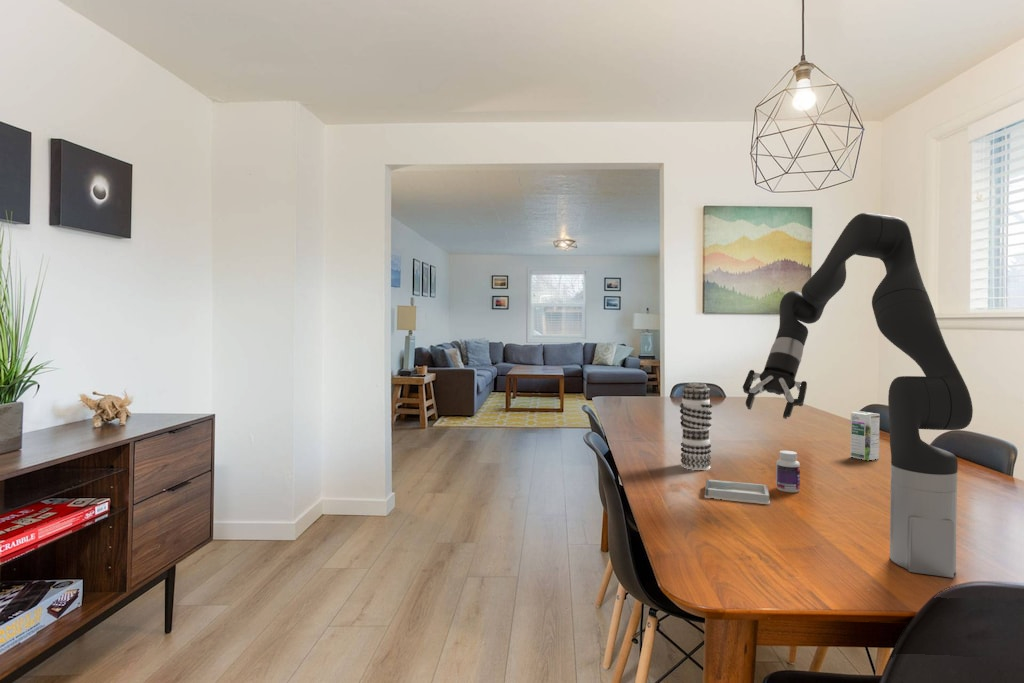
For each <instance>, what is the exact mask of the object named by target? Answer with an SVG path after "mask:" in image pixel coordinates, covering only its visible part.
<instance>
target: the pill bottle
mask: <svg viewBox="0 0 1024 683" xmlns="http://www.w3.org/2000/svg"><path fill="white" fill-rule="evenodd" d="M797 459H798V453H797V452H796V451H792V450H779V459H777V460H776V462H775V465H776V468H775V470H776V474H775V479H776V480H775V482H776V483H775V485H776V490H779V491H780V492H784V493H798V492H800V490H801V465H800V464H801V463H800V462H799V461H798V460H797Z"/></svg>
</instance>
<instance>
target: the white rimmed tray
mask: <svg viewBox="0 0 1024 683" xmlns="http://www.w3.org/2000/svg"><path fill="white" fill-rule="evenodd" d="M704 498H705V499H710V498H714V499H713V500H720V499H722V500H723V501H730V502H731V501H732V502H741V503H750V504H757V505H758V504H760V505H762V504H763V505H768V506H770V505H771V501H770V492H769V489H768V485H767V484H761V483H751V482H750V483H749V482H739V481H729V480H720V479H719V480H716V479H709V478H708V479H707V478H706V480H705V488H704ZM722 500H721V501H722Z"/></svg>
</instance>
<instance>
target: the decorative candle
mask: <svg viewBox="0 0 1024 683" xmlns="http://www.w3.org/2000/svg"><path fill="white" fill-rule="evenodd" d="M681 390H682V397H681V403H680V404H679V407H680V410H679V412H680V414H681V415H680V420H681V421H680V423H679V424H680V428H681V429H682V436H681V443H680V445H681V448H680V451H681V453H680V458H681V459H680V462H681V464H680V467H681V466H682V467H684V468H687V469H686V470H688V469H692V470H691V471H694V470H706V471H709V470H711V469H710V468H711V464H712V462H711V459H712V456H711V454H710V453H711V452H712V451H711V449H710V448H711V447H712V444H710V443H711V438H710V430H712V428H711V426H712V424H711V423H710V422H709V421H711V420H712V419H713V417H712V416H711V415H712V411H711V410H710V409H711V408H712V407H713V404H711V402H710V401H711V400H710V390H711V388H709V387H708V386H707V384H706V383H703V382H687V383H686V384H684V386H683V387H682V388H681ZM682 467H681V468H682ZM684 468H683V469H684Z"/></svg>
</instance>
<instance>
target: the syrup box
mask: <svg viewBox="0 0 1024 683" xmlns="http://www.w3.org/2000/svg"><path fill="white" fill-rule="evenodd" d="M880 420H881V419H880V413H875V412H874V413H873V412H868V411H862V410H861V411H860V410H859V411H852V412H851V413H850V456H849V457H850V458H851V457H853V458H852V459H857V460H861V459H862V461H865V460H867V461H866V462H870V461H869V460H872V461H876V460H879V459H880V458H879V457H880V424H881V423H880ZM875 459H876V460H875Z"/></svg>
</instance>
